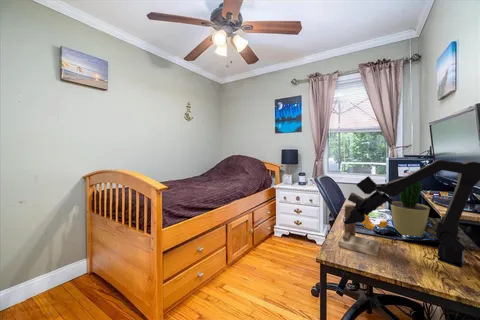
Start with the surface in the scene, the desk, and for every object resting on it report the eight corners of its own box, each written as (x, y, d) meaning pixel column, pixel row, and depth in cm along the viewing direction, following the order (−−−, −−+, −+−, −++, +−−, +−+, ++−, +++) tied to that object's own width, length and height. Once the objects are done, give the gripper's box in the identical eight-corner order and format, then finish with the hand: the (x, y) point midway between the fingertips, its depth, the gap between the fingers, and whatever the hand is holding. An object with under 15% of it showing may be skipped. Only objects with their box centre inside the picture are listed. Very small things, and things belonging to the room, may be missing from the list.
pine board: (379, 246, 93) (379, 241, 93) (377, 256, 85) (377, 250, 85) (343, 238, 103) (343, 233, 102) (338, 246, 95) (338, 240, 95)
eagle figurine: (445, 237, 99) (420, 229, 104) (451, 228, 95) (425, 221, 100) (445, 250, 94) (420, 242, 99) (451, 241, 90) (424, 233, 95)
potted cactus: (398, 239, 100) (400, 177, 98) (384, 227, 115) (385, 173, 113) (437, 242, 96) (439, 178, 94) (417, 229, 111) (418, 173, 109)
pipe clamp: (389, 233, 108) (389, 221, 107) (383, 234, 106) (383, 222, 106) (367, 225, 119) (367, 214, 118) (362, 226, 117) (362, 215, 117)
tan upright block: (355, 237, 103) (355, 205, 102) (350, 247, 93) (350, 212, 92) (346, 235, 105) (346, 204, 104) (340, 244, 96) (340, 210, 95)
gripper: (362, 185, 106) (339, 203, 114) (355, 192, 91) (329, 212, 99) (380, 202, 102) (355, 220, 109) (376, 212, 87) (347, 232, 95)
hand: (346, 220), depth 103 cm, fingers open, 9 cm apart
